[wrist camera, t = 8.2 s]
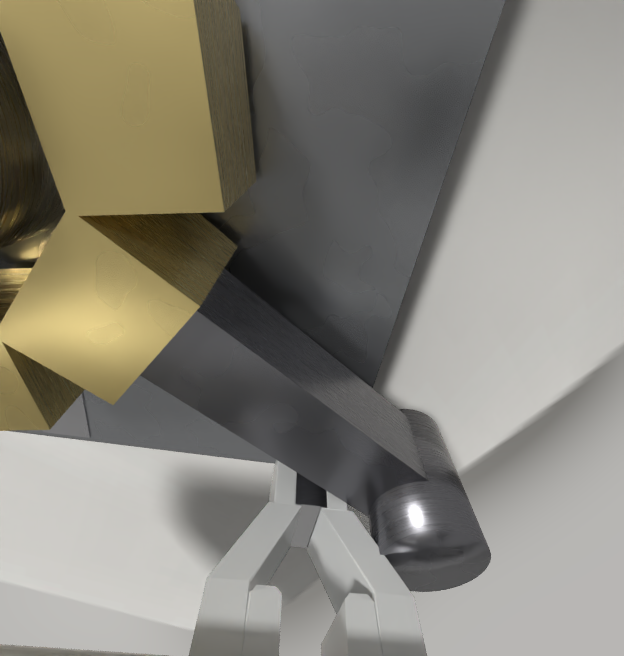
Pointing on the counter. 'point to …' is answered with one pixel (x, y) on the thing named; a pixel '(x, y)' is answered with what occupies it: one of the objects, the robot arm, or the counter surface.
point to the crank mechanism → (296, 186)
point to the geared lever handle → (193, 274)
